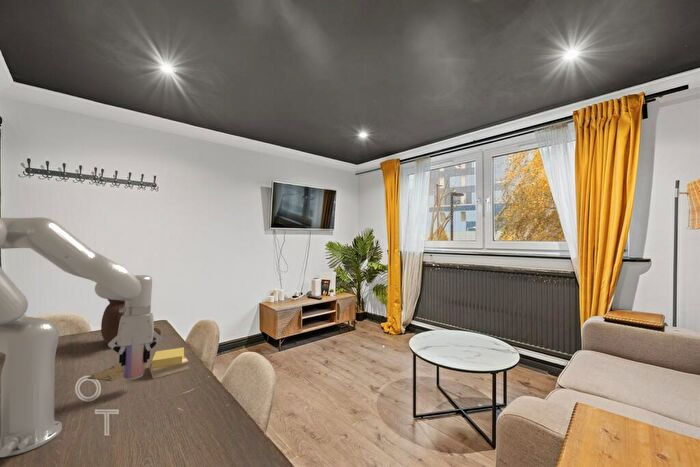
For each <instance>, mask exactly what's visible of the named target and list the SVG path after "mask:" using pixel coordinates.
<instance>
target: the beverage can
mask: <svg viewBox="0 0 700 467" xmlns="http://www.w3.org/2000/svg"><path fill="white" fill-rule="evenodd" d="M135 335H137V334H135ZM124 351H125V358H124V372H123V376H122V377H123V379H124V380H127V381H128V380H135V379H139V378H142V377H143V376H144V375H145V373H146V372H145V369H146V366H145V365H146V363H144V362H145V351H146V346H145V344H142V345H141V344H139V337H138V336H133V338H132V344H131V345H130V346H126V348H125V350H124Z"/></svg>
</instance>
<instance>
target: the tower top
mask: <svg viewBox="0 0 700 467" xmlns="http://www.w3.org/2000/svg"><path fill="white" fill-rule="evenodd" d="M183 356H185V347H179V348H178V347H176V348H171V349H163V350H156V351H155V353H154V355H153V358H152V359H151V360H152V368H159V367H165V366H171V365H177V364H182V362H183Z"/></svg>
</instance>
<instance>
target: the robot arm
mask: <svg viewBox="0 0 700 467" xmlns="http://www.w3.org/2000/svg"><path fill="white" fill-rule="evenodd" d="M1 249H3V250H5V249H7V250H8V249H9V250H10V249H30V250H32V251H34V252H35V253H37V254H38V255H40V256H41V257H43V258H44V259H46V260H47V261H49V262H51V263H52V264H53V265H54V266H56V267H57V268H59V269H61V270H62V271H64V272H65V273H67V274H70V275H72V276H76V277H79V278H83V279H85V280H89V281H91V282H94V283H96V284H95V286H94V292H95V294H96V295H97V296H98V297H99V298H102V299H105V300H107V299H111V300H121V301H125V307H124V308H122V309H119V313H123V314H124V315H123V316H121V319H120V323H119V329H118V335H117V336H116V337H115V338H114V339H113V340H112V341H111V342H109V343H107V346H108V347H109V348H110V349H112V350H113V351H115V352H116V353H117V354H118V355H119V356H118V357H119V358H118V360H119V361H118V364H121V366H124V358H125V348H126V346H130V345H131V344H132V338H133V336H138V337H139V344H141V345H142V344H145V346H146V351H145V362H144V363H145V364H146V363H148V361H149V360H151V350H152V349H153V348H154V347H155V346H156V345H157V344H159V342H161V340H163V339H162V338H163V337H162V336H161V335H159V334H157V333H156V332H155V331H154V328H155V323H154V321H155V320H154V314H153V312H151V308H152V293H153V291H152V290H153V278H152V276H151V275H145V274H143V275H142V274H140V275H134V274H133V273H131V271H129V270H128V269H126V268H125V267H124V266H123V265H120V264H119V263H117V262H115V261H113V260H112V259H109V258H108V257H106V256H104V255H102V254H100V253H98V252H96V251H94V250H93V249H91V248H90V246H87V245H86V244H85V243H84V242H83V241H81V240H80V239H79V238H77V237H76V236H75V235H74V234H72V233H71V232H70V231H68V230H67V229H66V228H65V227H64V226H62V225H61V224H59V223H58V222H57V221H55V220H53V219H51V218H48V217H37V216H36V217H0V250H1ZM28 307H29V302H28V299H27V297H26V296H25V294H24V293H23V292H22V291H21V290H20V289H19V287H18V286H17V285H16V283H14V282H13V281H12V279H11V278H10V277H9V276H8V275H7V274H6V273H5V271H4V270H3V268H2V266H0V353H2V354H5V358H4V362H3V366H2V369H1V373H0V374H1V375H0V458H4V457H5V458H6V457H13V456H15V455H19V454H23V453H26V452H30V451H32V450H34V449H37V448H39V447H41V446H43V445H45V444H47V443H49V442H51V441H52V440H53V439H54V438H56V437H57V436H58V435H59V434H60V433H61V432H62V430H63V424H62V422H61V421H58V420H55V382H56V381H55V378H56V377H55V376H56V374H55V368H56V367H55V365H56V364H55V363H56V354H57V353H56V352H57V348H58V344H59V340H60V339H59V338H60V332H59V329H58V328H57V326H56V324H54V323H53V322H52V321H50V320H47V319H46V318H40V317H34V316H27V315H26V312H27V310H28V309H29V308H28ZM135 334H137V335H135ZM153 336H154V337H155V338H156V339H153ZM153 340H154V341H153ZM116 341H117V345H116V344H115V342H116Z"/></svg>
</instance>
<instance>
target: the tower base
mask: <svg viewBox="0 0 700 467" xmlns="http://www.w3.org/2000/svg"><path fill="white" fill-rule="evenodd" d="M148 369H149V373H150V374H151V376H152V379H153V380H154V379H158V378H161V377H165V376H168V375H169V376H170V375H173V374H176V373H181V372H183V371H187V370H190V361H189V360H188V359H187V357H186V356H185V355H184V356H183V362H182V364H177V365H171V366H165V367H159V368H152V359H148Z"/></svg>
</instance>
